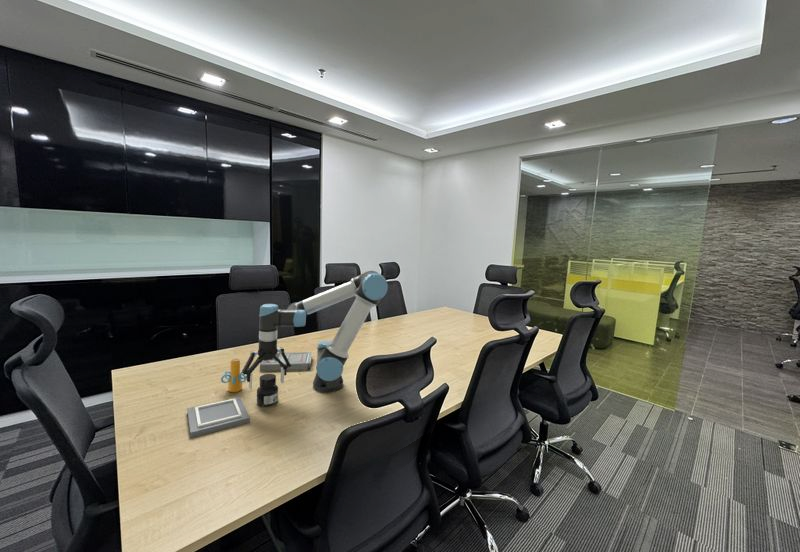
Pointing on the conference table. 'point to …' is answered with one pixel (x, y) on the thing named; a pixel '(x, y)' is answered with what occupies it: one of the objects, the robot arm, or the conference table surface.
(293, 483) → the conference table surface
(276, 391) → the ink bottle
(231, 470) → the conference table surface
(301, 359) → the hard drive
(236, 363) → the orange post with loops
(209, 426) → the base plate
